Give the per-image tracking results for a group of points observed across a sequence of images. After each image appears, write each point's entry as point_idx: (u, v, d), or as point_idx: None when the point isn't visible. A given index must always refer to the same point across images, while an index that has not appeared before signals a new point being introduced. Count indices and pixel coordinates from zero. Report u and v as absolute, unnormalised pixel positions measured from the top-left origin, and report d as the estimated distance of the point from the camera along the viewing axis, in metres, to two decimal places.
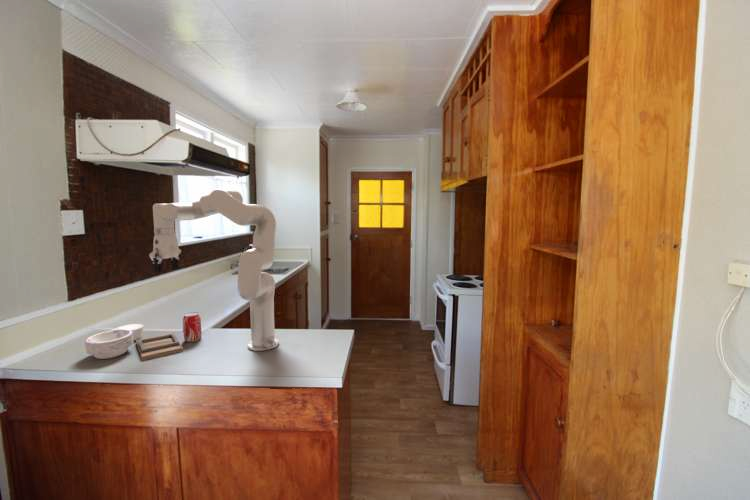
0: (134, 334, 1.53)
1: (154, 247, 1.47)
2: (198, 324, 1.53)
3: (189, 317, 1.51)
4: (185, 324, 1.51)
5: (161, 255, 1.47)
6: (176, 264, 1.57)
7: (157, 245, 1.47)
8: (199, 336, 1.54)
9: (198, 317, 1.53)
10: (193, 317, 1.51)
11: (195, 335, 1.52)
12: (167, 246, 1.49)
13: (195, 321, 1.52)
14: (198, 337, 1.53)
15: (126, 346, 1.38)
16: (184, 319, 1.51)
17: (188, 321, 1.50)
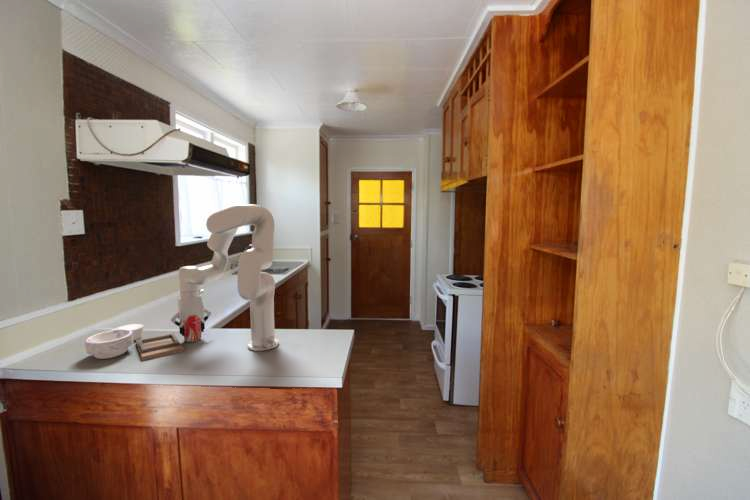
0: (134, 334, 1.53)
1: (203, 306, 1.55)
2: (198, 323, 1.53)
3: (189, 317, 1.51)
4: (185, 324, 1.51)
5: None
6: None
7: None
8: (199, 336, 1.54)
9: (198, 317, 1.53)
10: (193, 317, 1.51)
11: (195, 335, 1.52)
12: None
13: (195, 321, 1.52)
14: (198, 337, 1.53)
15: (126, 346, 1.38)
16: None
17: (188, 321, 1.50)
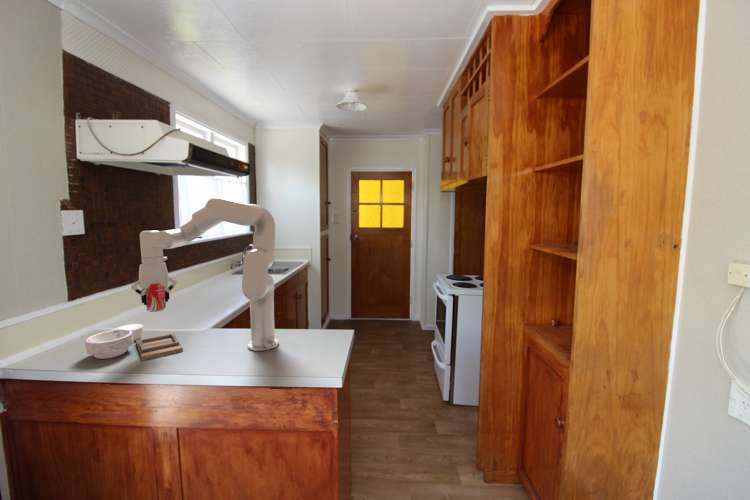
0: (134, 334, 1.53)
1: None
2: (162, 292, 1.43)
3: (151, 285, 1.41)
4: (147, 292, 1.41)
5: None
6: None
7: None
8: (163, 306, 1.44)
9: (162, 285, 1.43)
10: (156, 285, 1.41)
11: (158, 304, 1.42)
12: None
13: (158, 289, 1.42)
14: (162, 307, 1.43)
15: (126, 346, 1.38)
16: None
17: (150, 289, 1.40)
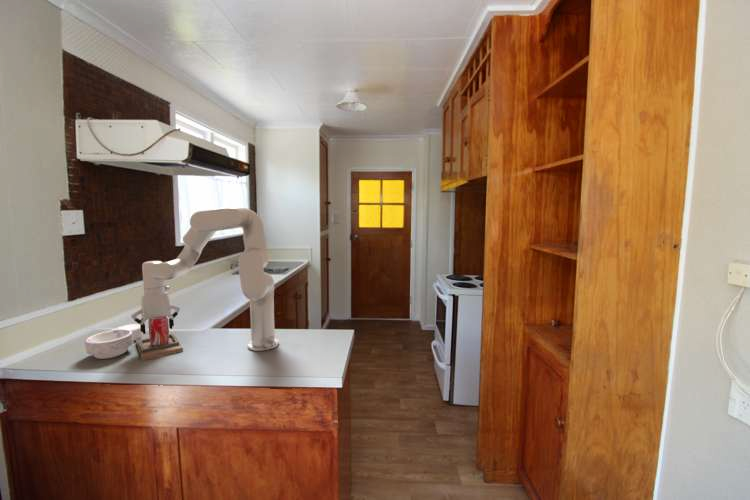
0: (134, 334, 1.53)
1: (169, 304, 1.47)
2: (165, 326, 1.45)
3: (155, 319, 1.43)
4: (150, 327, 1.42)
5: None
6: None
7: (169, 301, 1.48)
8: (166, 340, 1.46)
9: (165, 319, 1.45)
10: (159, 319, 1.43)
11: (161, 338, 1.44)
12: None
13: (161, 324, 1.44)
14: (165, 340, 1.45)
15: (126, 346, 1.38)
16: (149, 322, 1.43)
17: (154, 324, 1.42)
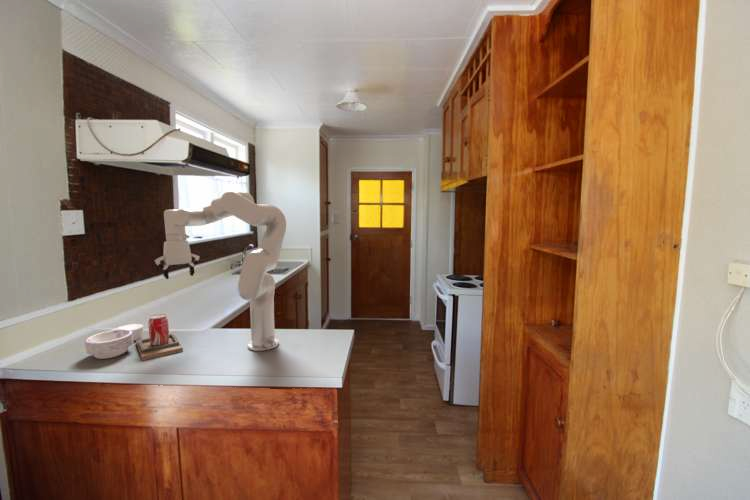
0: (134, 334, 1.53)
1: (190, 251, 1.53)
2: (165, 326, 1.45)
3: (155, 319, 1.43)
4: (150, 327, 1.42)
5: None
6: None
7: None
8: (166, 340, 1.46)
9: (165, 319, 1.45)
10: (159, 319, 1.43)
11: (161, 338, 1.44)
12: None
13: (161, 324, 1.44)
14: (165, 341, 1.45)
15: (126, 346, 1.38)
16: (149, 322, 1.43)
17: (154, 324, 1.42)
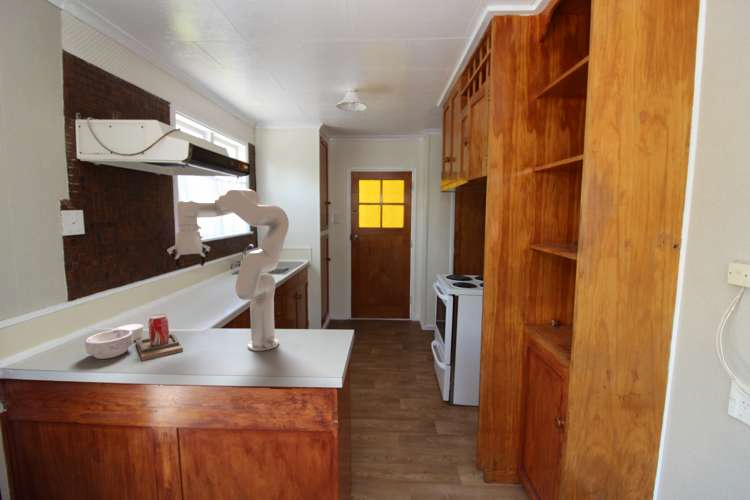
0: (134, 334, 1.53)
1: (201, 242, 1.58)
2: (165, 326, 1.45)
3: (155, 319, 1.43)
4: (150, 327, 1.42)
5: None
6: None
7: None
8: (166, 340, 1.46)
9: (165, 319, 1.45)
10: (159, 319, 1.43)
11: (161, 338, 1.44)
12: None
13: (161, 324, 1.44)
14: (165, 341, 1.45)
15: (126, 346, 1.38)
16: (149, 322, 1.43)
17: (154, 324, 1.42)
